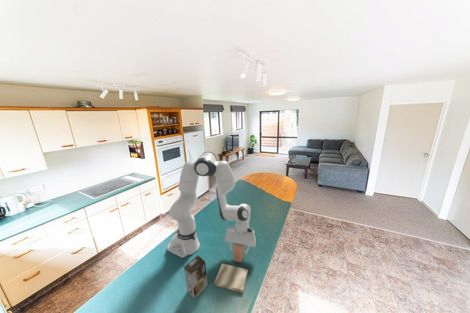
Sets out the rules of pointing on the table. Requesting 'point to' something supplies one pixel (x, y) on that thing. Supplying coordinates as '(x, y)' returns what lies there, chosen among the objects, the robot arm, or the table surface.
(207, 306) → the table surface
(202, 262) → the coffee box
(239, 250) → the brick block
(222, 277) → the birch board
